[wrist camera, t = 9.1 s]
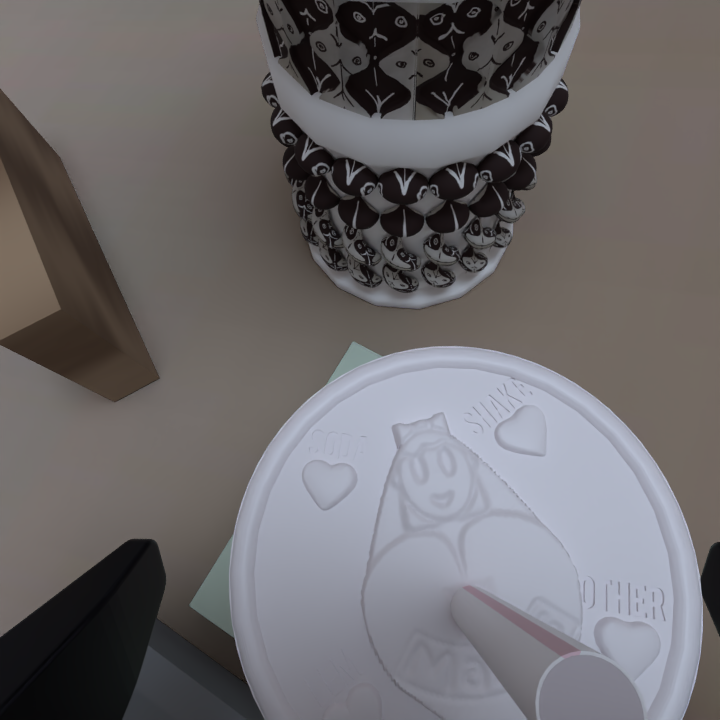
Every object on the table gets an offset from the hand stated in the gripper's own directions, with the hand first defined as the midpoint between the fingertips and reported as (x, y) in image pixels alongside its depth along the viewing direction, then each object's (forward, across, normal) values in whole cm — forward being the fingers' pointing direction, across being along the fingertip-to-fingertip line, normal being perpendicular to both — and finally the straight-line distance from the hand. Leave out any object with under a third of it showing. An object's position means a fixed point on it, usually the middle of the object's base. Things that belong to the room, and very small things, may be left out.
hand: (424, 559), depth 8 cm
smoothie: (+6, 0, +6) cm, 8 cm away
